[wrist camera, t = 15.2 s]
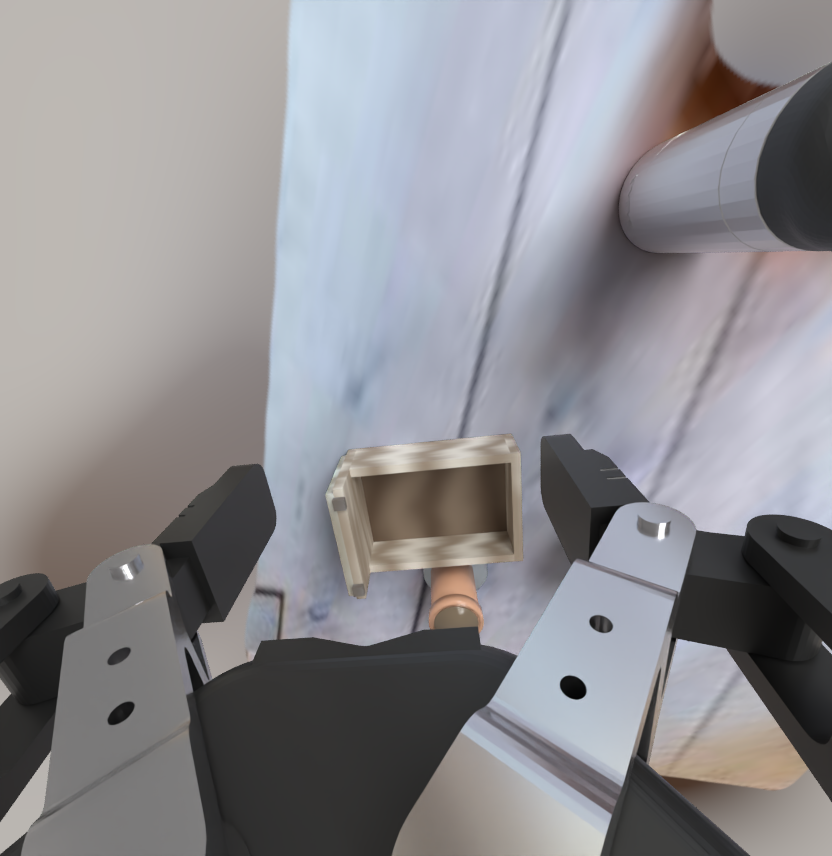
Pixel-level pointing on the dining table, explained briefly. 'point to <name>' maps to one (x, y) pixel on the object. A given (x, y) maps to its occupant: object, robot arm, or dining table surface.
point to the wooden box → (426, 506)
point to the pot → (454, 598)
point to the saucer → (478, 570)
